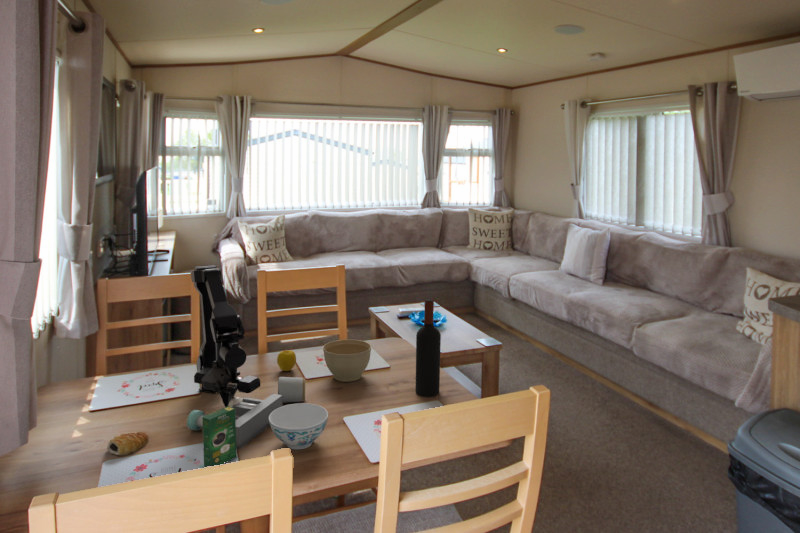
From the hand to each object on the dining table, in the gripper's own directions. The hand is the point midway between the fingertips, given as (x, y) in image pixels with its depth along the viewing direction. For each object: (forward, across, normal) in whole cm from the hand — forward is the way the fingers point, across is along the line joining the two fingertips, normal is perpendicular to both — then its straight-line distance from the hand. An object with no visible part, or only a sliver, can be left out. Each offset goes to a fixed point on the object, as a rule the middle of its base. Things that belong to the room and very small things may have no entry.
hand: (227, 408), depth 163 cm
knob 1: (+2, +2, -11) cm, 11 cm away
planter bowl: (+1, +20, +38) cm, 43 cm away
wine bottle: (0, +49, +36) cm, 61 cm away
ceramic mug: (+2, +12, +16) cm, 20 cm away
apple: (+2, -2, +36) cm, 36 cm away
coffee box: (+2, +15, -23) cm, 27 cm away
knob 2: (+1, +6, 0) cm, 7 cm away
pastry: (+3, -12, -25) cm, 28 cm away
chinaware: (+1, +28, -8) cm, 29 cm away
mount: (+2, +10, -5) cm, 11 cm away
